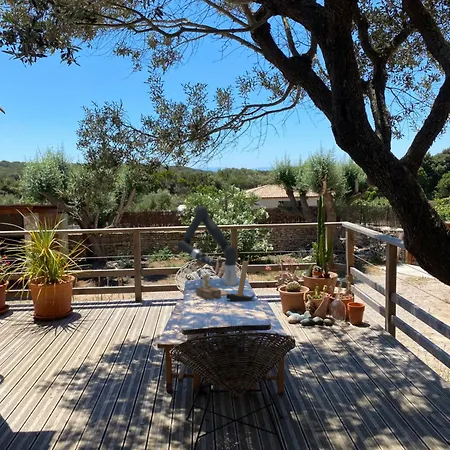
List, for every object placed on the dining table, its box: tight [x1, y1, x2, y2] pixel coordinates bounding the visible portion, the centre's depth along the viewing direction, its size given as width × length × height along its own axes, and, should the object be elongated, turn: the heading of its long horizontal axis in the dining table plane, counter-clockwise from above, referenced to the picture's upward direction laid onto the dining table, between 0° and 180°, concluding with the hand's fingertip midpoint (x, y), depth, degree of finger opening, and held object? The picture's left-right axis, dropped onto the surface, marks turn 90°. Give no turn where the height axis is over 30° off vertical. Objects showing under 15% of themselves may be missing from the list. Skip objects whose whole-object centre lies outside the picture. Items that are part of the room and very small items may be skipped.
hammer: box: [225, 260, 255, 302], centre depth 312 cm, size 20×5×30 cm, turn 91°
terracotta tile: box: [220, 289, 230, 297], centre depth 335 cm, size 8×12×1 cm, turn 29°
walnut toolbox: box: [195, 285, 222, 301], centre depth 327 cm, size 12×18×6 cm, turn 29°
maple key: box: [201, 274, 210, 289], centre depth 330 cm, size 4×4×16 cm
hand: (213, 264), depth 338 cm, fingers open, 8 cm apart
